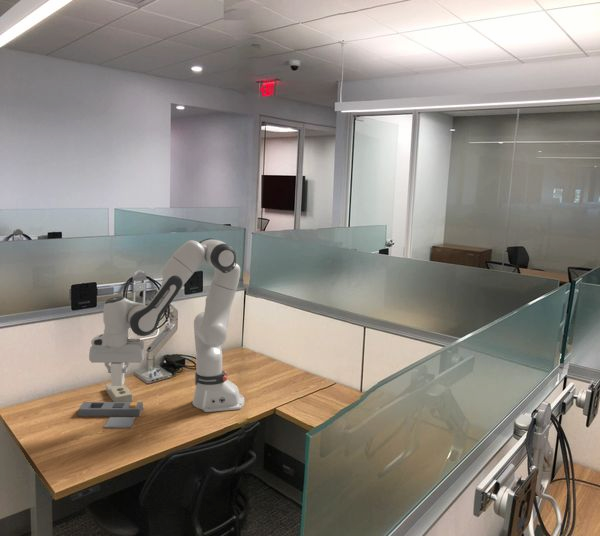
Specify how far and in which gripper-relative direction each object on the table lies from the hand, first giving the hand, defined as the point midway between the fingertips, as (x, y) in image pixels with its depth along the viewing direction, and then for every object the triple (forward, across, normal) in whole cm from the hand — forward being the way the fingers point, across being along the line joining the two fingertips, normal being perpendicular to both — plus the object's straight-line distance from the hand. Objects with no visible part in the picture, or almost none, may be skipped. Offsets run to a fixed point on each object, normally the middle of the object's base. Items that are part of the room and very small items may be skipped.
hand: (117, 372), depth 200 cm
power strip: (+21, +6, -8) cm, 23 cm away
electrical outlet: (+21, +7, -25) cm, 34 cm away
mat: (+21, -1, +1) cm, 21 cm away
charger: (+5, 0, 0) cm, 5 cm away
